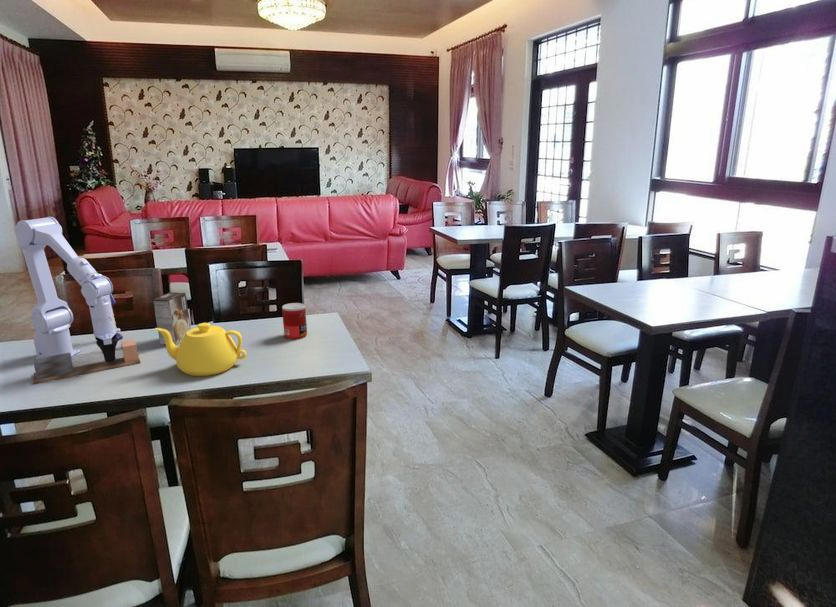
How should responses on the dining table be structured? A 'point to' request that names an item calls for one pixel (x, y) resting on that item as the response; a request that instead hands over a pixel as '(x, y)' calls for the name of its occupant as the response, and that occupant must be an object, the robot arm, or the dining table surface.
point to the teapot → (205, 350)
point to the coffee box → (172, 315)
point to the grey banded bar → (94, 357)
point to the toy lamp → (118, 336)
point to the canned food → (294, 320)
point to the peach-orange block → (129, 350)
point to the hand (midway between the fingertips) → (110, 359)
